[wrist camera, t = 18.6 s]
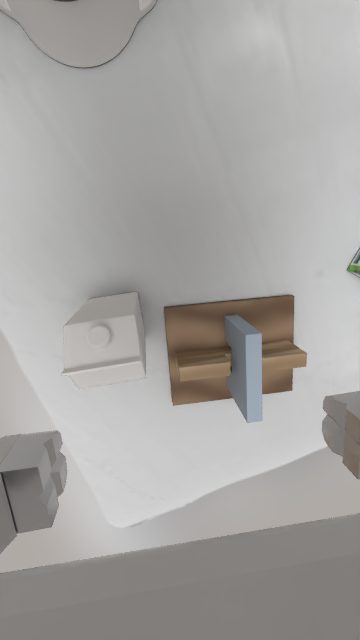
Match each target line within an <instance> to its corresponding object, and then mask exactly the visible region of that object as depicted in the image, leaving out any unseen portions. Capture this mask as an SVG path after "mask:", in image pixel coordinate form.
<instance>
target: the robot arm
mask: <svg viewBox="0 0 360 640" xmlns="http://www.w3.org/2000/svg"><path fill="white" fill-rule="evenodd" d="M155 3H156V0H0V10H1V11H2V12H4V13H5V14H7V15H8V16H10V17H11V18H13V19H14V20H16V21H17V22H18V23H19V24H20V25H21V27H22V28H23V29H24V31H25V32H26V33H27V35H28V36H29V37H30V39H31V40H32V41H33V42H34V43H35V44H36V45H37V46H38V47H39V48H40V49H41V50H42V51H43V52H44V53H46V54H47V55H48V56H50V57H51V58H53V59H55V60H57V61H59V62H61V63H63V64H66V65H70V66H74V67H94V66H98V65H101V64H103V63H106V62H108V61H109V60H111V59H112V58H114V57H115V56H116V55H118V54H119V53H120V52H121V50H122V49H123V48H124V47H125V46H126V44H127V43H128V41H129V39H130V37H131V35H132V33H133V31H134V29H135V26H136V25H137V23H138V21H139V20H140V19H141V18H142V17H143V16H144V15H146V14H147V13H148V12H149V11H150V10H151V9H152V8H153V7H154V5H155ZM323 410H324V411H325V412H326V414H327V415H326V417H325V418H324V420H323V421H322V432H323V436H324V440H325V442H326V443H327V445H328V447H329V448H330V449H331V450H332V451H333V452H334V453H336V454H338V455H340V456H342V457H343V464H344V465H345V466H346V467H347V468H348V469H349V470H350V471H351V472H352V474H353V475H354V476H355V477H356V478H357V479H360V391H357V392H351V393H344V394H338V395H331V396H325V399H324V401H323ZM61 446H62V438H61V434H60V432H59V431H58V430H55V431H46V432H37V433H28V434H18V435H11V436H5V437H2V438H0V554H1V552H2V551H3V550H4V549H5V548H6V547H7V546H8V545H9V544H10V543H11V541H12V540H13V539H14V538H15V537H16V536H17V533H22V532H28V531H33V530H39V529H44V528H50V527H52V525H53V522H54V519H55V516H56V513H57V509H58V506H59V503H58V498H57V497H58V496H59V495H60V494H62V492H63V491H64V488H65V485H66V478H67V463H66V458H65V456H64V455H63V454H62V453H61V452H60V448H61ZM0 640H360V513H359V514H353V515H347V516H341V517H335V518H329V519H323V520H317V521H311V522H305V523H299V524H293V525H287V526H281V527H275V528H269V529H263V530H257V531H251V532H245V533H239V534H234V535H227V536H221V537H215V538H209V539H204V540H197V541H191V542H186V543H179V544H174V545H167V546H161V547H156V548H150V549H144V550H137V551H131V552H126V553H119V554H113V555H107V556H101V557H95V558H90V559H83V560H77V561H71V562H66V563H59V564H54V565H48V566H41V567H35V568H29V569H23V570H18V571H11V572H5V573H0Z"/></svg>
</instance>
